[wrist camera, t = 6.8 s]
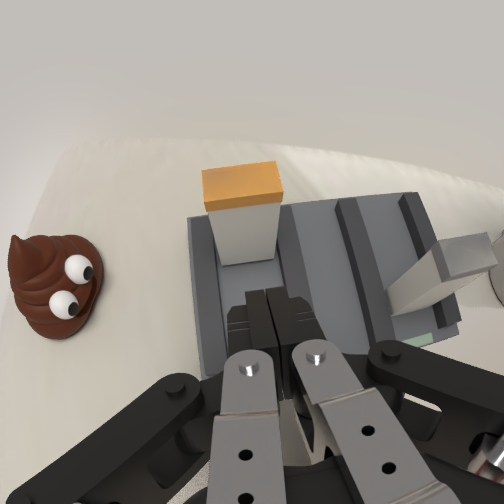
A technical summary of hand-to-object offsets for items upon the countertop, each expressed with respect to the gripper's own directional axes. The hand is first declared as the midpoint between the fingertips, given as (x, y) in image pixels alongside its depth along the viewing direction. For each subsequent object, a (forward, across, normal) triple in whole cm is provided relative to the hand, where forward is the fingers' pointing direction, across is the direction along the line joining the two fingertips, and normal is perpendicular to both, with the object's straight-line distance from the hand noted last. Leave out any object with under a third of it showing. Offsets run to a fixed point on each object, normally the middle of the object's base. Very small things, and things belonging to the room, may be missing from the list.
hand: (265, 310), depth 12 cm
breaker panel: (+13, -6, +6) cm, 15 cm away
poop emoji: (+15, +17, +5) cm, 23 cm away
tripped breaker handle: (+13, 0, +2) cm, 13 cm away
